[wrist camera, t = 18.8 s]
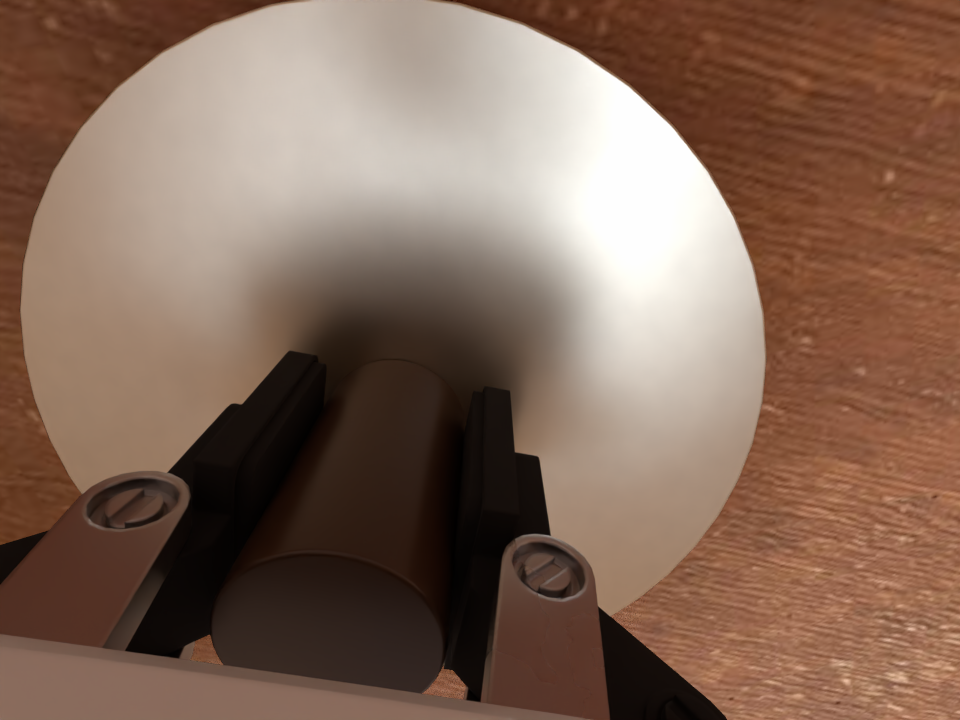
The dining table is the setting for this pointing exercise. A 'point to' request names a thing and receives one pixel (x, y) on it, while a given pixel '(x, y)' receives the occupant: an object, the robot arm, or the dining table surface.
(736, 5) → the dining table surface
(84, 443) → the lid
